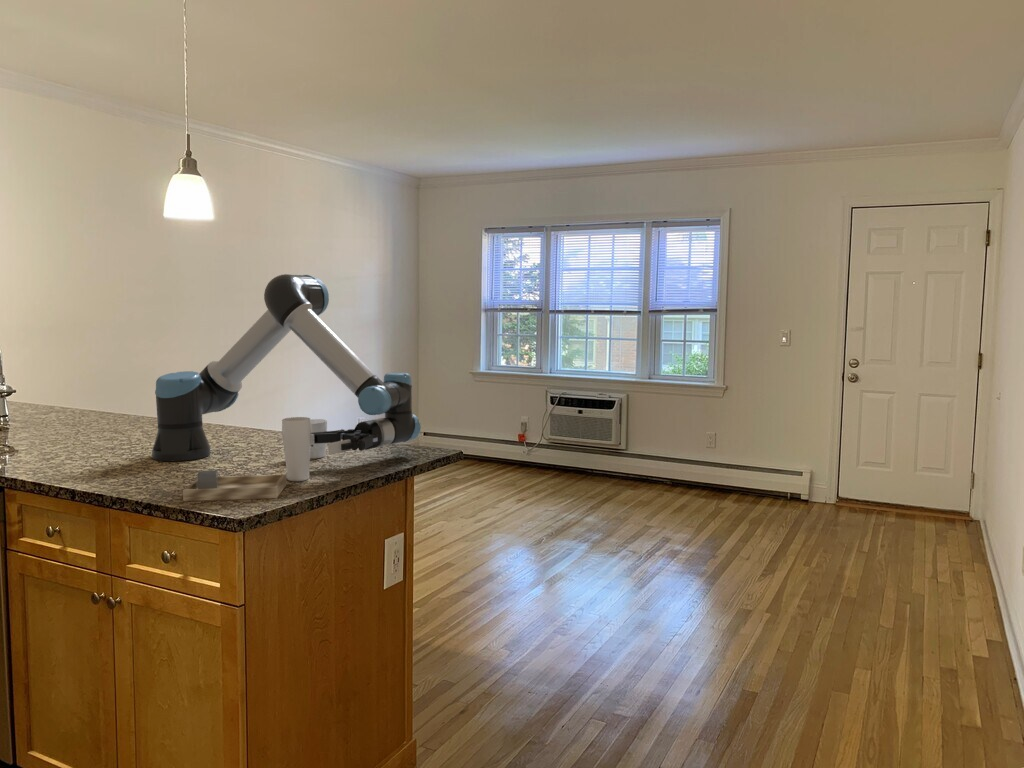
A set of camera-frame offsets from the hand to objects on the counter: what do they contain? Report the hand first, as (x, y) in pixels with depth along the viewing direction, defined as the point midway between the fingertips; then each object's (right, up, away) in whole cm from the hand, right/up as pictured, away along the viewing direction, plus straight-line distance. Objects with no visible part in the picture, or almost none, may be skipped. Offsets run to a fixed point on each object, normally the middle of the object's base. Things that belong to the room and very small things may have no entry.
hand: (310, 446), depth 197 cm
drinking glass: (-3, -8, -2) cm, 9 cm away
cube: (-19, -9, -15) cm, 26 cm away
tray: (-13, -10, -14) cm, 22 cm away
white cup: (-6, -5, +27) cm, 28 cm away
